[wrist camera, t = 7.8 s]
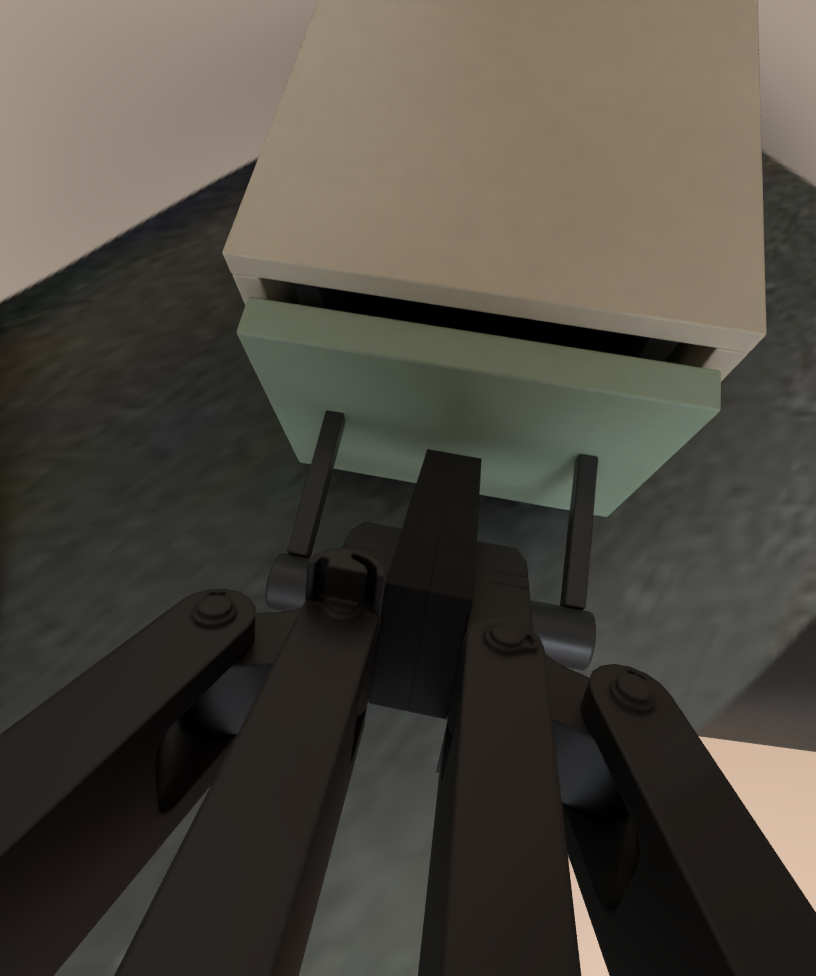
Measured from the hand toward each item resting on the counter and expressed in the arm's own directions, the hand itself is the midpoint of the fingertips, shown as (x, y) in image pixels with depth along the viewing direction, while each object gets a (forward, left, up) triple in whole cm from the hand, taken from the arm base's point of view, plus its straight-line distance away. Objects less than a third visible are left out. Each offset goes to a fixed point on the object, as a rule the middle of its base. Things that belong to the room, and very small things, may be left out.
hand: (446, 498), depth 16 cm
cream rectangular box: (+5, -11, -7) cm, 14 cm away
